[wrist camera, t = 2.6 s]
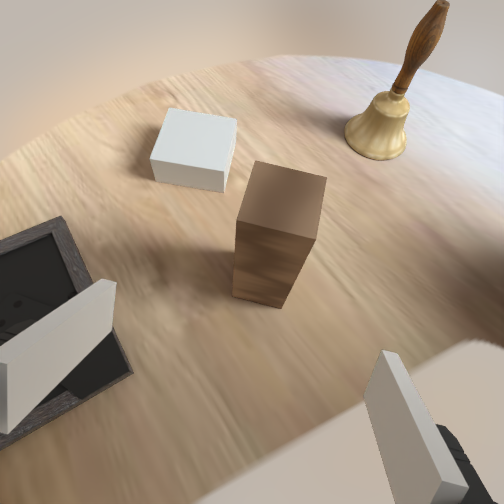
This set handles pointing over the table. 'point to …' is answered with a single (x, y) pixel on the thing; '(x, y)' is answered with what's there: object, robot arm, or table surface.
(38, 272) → the picture frame
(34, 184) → the table surface
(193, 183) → the white block
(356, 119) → the hand bell
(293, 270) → the walnut block
